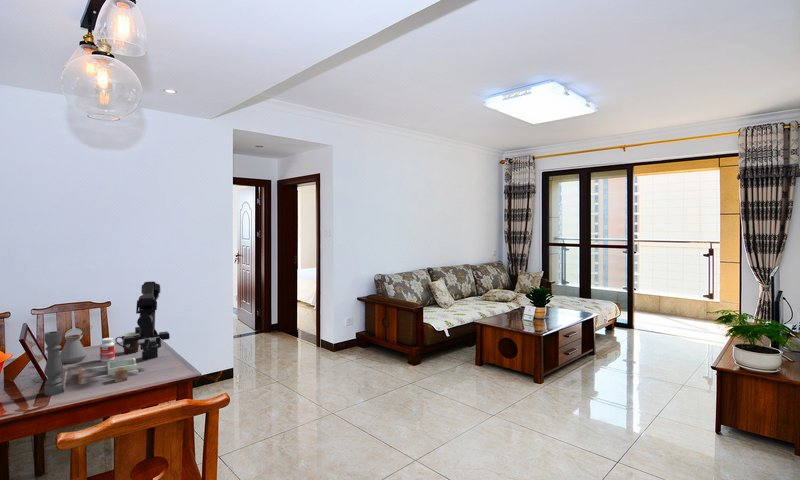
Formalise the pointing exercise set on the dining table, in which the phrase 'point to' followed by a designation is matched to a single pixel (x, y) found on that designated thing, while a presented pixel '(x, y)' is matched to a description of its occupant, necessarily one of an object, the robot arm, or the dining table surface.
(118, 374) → the walnut block
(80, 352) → the coffee pot
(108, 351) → the pill bottle
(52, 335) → the candle holder
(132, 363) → the crate
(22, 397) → the dining table surface
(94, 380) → the bay board
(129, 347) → the coffee mug
